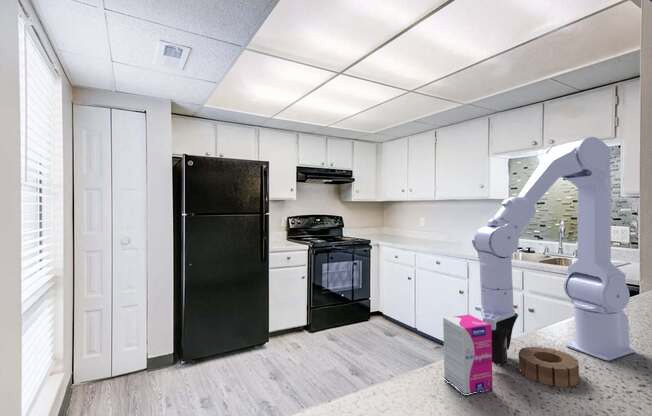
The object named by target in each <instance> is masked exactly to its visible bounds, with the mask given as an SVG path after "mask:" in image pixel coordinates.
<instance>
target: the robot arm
mask: <svg viewBox="0 0 652 416" xmlns="http://www.w3.org/2000/svg"><path fill="white" fill-rule="evenodd" d="M560 178H562V179H563V180H565V181H568V182H571V183H572V184H573V185H574V186H575V187H577V257H576V259H577V260H576V261H574V262H573V263H571V264H570V265H568V266H567V274H566V277H565V278H564V279H565V280H564V281H563V282H564V283H563V291H564V294H565V295H566V296H567V297H568V299H570V303H571V305H573V309H574V310H573V312H574V313H573V314H574V334H575V341H571V342H568V343H566V344H565V346H566V348H567V347H568V348H570V349H572V350H575V351H579V352H581V353H584V354H587V355H590V356H591V357H592V356H593V357H596V358H597V359H600V360H604V361H608V362H609V361H613V360H615V359H619V358H621V357H624V356H626V355H627V356H628V355H630V354H633V353H636V349H635V348H632V347H631V345H630V343H631V342H630V340H631V339H630V322H629V318H628V316H627V314H626V312H624V309H625V308H627V306H628V304H629V302H630V289H629V287H628V285H627V283H626V282H627V281H626V280H627V279H626V274H625V272H623V271H622V270H621V269H620V268H618V267H617V266H615V265H614V264H613V263H612V259H611V258H612V253H611V252H612V176H611V148H610V147H609V146H608V145H607V144H606V143H605V142H604V141H603V140H602V139H600V138H599V137H596V136H590V137H586V138H582V139H579V140H576V141H570V142H566V143H562V144H559V145H558V144H557V145H552V146H550V147H548V148H547V149H546V150H545V151H544V153H543V154H542V155H541V156H540V157H539V165H538V166H537V168H535V170H534V172H533V173H532V175H530V178H529V179H528V181H527V182H526V183H525V185H524V186H523V188H522V189H521V191H520V192H519V194H518V195H516V196H510V197H508V198H507V199H503V201H502V202H501V203H500V204H501V207H500V208H499V210H498V211H497V212H496V214H495V215H494V216H493V217H492V218H489V220H488V221H487V226H483V227H482V226H481V228H479V229H478V230H477V231H476V233H475V235H474V238H473V239H472V240H471V244H472V246H473V248H474V249H475V251H476V252H477V257H478V258H477V259H478V260H479V261H478V262H479V278H480V279H479V282H480V304H476V305H475V306H474V308H475V309H474V310H475V311H479V312H481V315H482V321H484V322H486V323H489V324H491V330H492V363H493V362H494V363H498V364H501V362H502V358H503V351H504V344H505V340H506V338H507V351H508V350H509V349H510V346H511V341H512V340H511V339H512V334H513V329H514V325H515V323H516V321H517V319H518V317H519V314H518V313H517V312H516V310H515V308H514V307H515V306H514V289H513V287H514V286H513V265H512V255H513V254H514V253H515V252H517V251H518V249H519V244H520V243H519V240H520V237H521V234H522V232H523V231H524V230H525V228H526V227H527V226H528V224H529V223H530V222H531V221H532V219H533V218H534V217H535V216H536V214H537V210H536V206H535V205H536V204H537V203H538V202H539V201H540V200H541V198H542V197H543V196H544V195H545V194H546V193H547V192H548V191H549V189H551V187H553V185H554V184H555V183H556V182H557V181H558V180H559V179H560ZM494 363H493V364H494Z"/></svg>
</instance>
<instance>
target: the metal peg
mask: <svg viewBox="0 0 652 416" xmlns="http://www.w3.org/2000/svg"><path fill="white" fill-rule="evenodd" d="M507 363H508V350H507V338H506V340H505V344H504V351H503V358H502V362H501V364H500V365H499V366H507V365H508V364H507ZM497 364H498V363H496V364H495V365H497ZM506 364H507V365H506Z"/></svg>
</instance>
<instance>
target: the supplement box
mask: <svg viewBox="0 0 652 416" xmlns="http://www.w3.org/2000/svg"><path fill="white" fill-rule="evenodd" d="M442 320H443V321H442V327H443V366H444V368H443V369H444V371H443V375H444V376H443V377H444V378H445V379H446V380H447V381H448V382H450V383H451V384H453V385H454V386H456V387H457V388H458V389H459V390H460V391H461V392H462V393H464V394H469V393H474V392H480V391H481V392H482V391H486V392H490V391H489V390H492V391H494V387H493V386H494V385H493V384H494V383H493V377H494V376H493V362H492V330H491V324H489V323H486V322H484V321H483V319H481V318H480V319H479V318H477V317H475V316H473V315H471V314H462V315H457V316H455V315H454V316H448V317H443V319H442ZM482 393H483V392H482Z"/></svg>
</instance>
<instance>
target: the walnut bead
mask: <svg viewBox="0 0 652 416" xmlns="http://www.w3.org/2000/svg"><path fill="white" fill-rule="evenodd" d="M579 366H580V364H579V359H577V358H575V357H574V356H573V355H572V354H569V353H567V352H564V351H561V350H559V349H558V350H557V349H555V348H549V347H544V346H543V347H542V346H530V347H529V346H526V347H522V348H521V349H519V351H518V369H519V371H520V370H521V371H520V373H522V374H523V376H525V377H526V376H527V377H526V378H528V377H529V379H530V378H531V379H530V380H532V379H533V381H534V380H535V381H534V382H538V383H540V384H544V385H548V386H550V387H551V386H552V387H553V386H554V387H560V388H561V387H564V388H565V387H566V388H568V387H573V386H576V385H578V384H580V368H579Z"/></svg>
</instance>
